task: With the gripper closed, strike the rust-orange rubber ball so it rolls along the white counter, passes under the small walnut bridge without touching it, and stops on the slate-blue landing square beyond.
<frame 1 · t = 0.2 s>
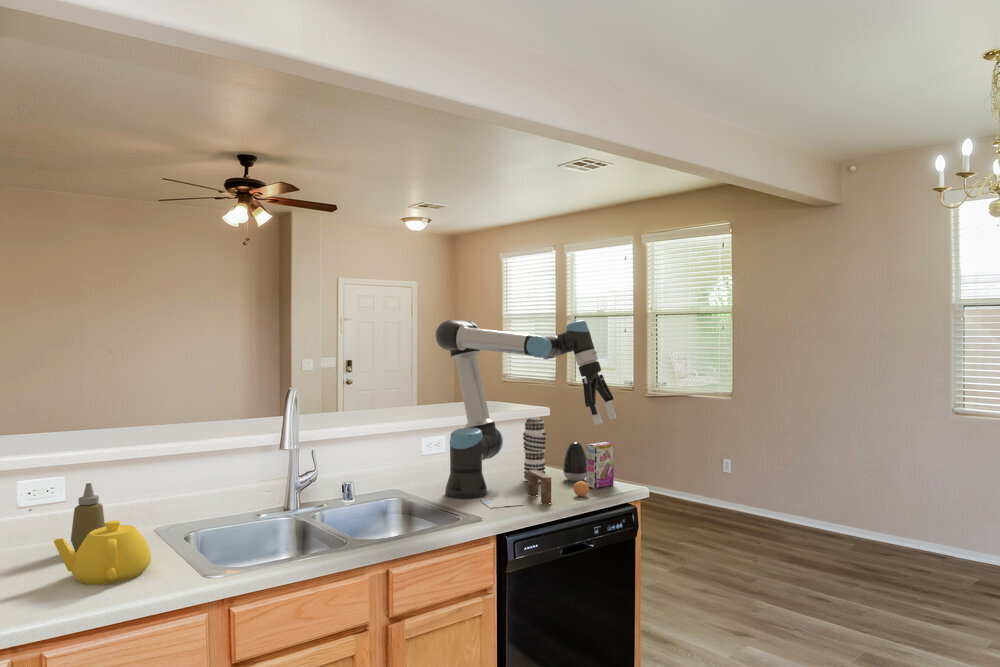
hand: (606, 421, 236), 27 cm above the counter, tool tilted 20°, fingers open, 13 cm apart
candy bar box: (600, 487, 257), on the counter
decorative candle: (534, 481, 268), on the counter
teapot: (103, 578, 159), on the counter
squeeze bottle: (88, 551, 179), on the counter
ball: (581, 488, 240), on the counter
bridge: (539, 499, 235), on the counter
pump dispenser: (575, 480, 269), on the counter
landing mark: (501, 503, 231), on the counter
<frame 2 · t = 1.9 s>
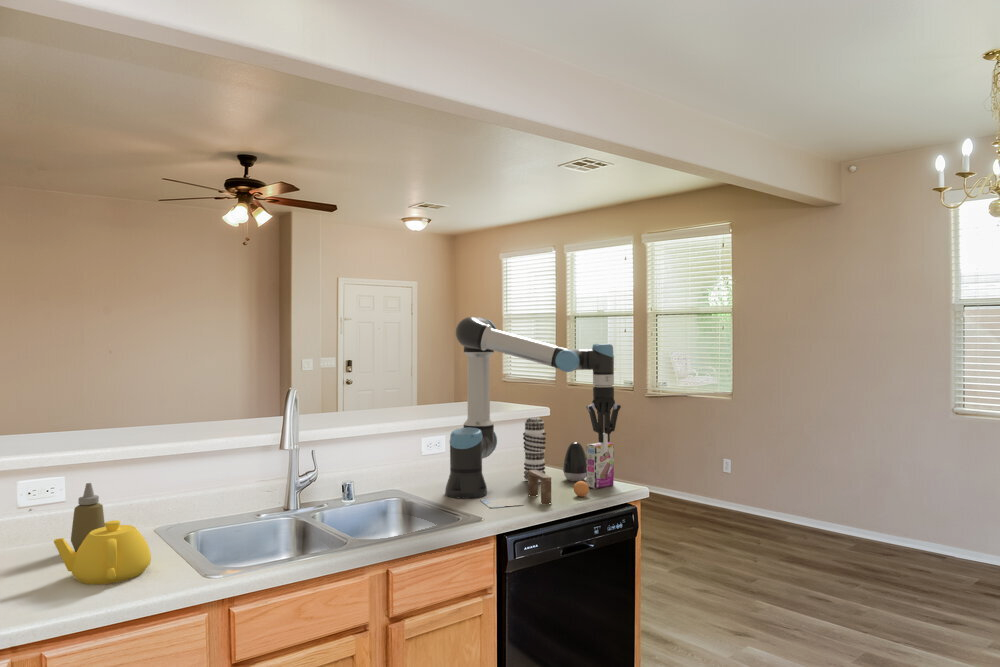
hand: (604, 451, 243), 16 cm above the counter, tool pointing down, fingers closed
nothing on the counter moved.
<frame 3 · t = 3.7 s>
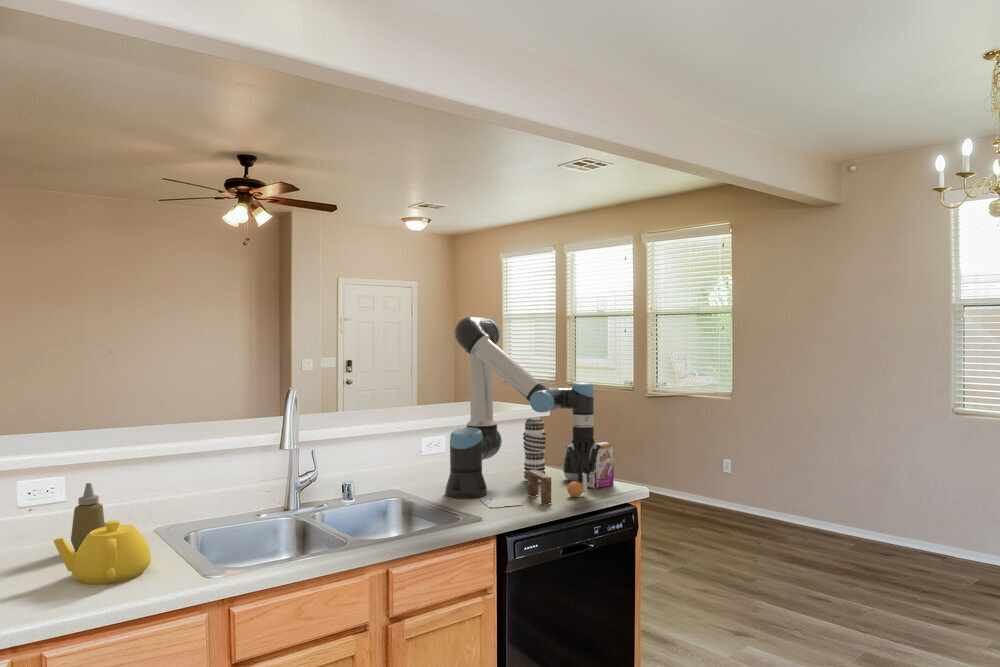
hand: (583, 491, 241), 2 cm above the counter, tool pointing down, fingers closed
ball: (575, 489, 239), on the counter, touching gripper
everything else where it was.
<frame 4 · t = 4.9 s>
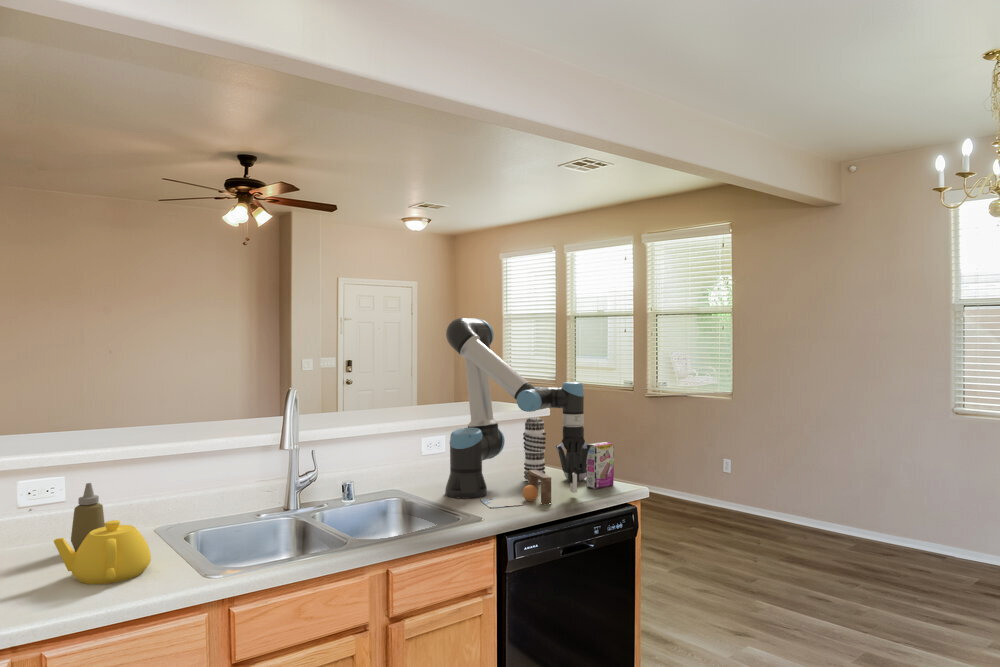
hand: (573, 491, 239), 2 cm above the counter, tool pointing down, fingers closed
ball: (530, 493, 234), on the counter
everything else where it was.
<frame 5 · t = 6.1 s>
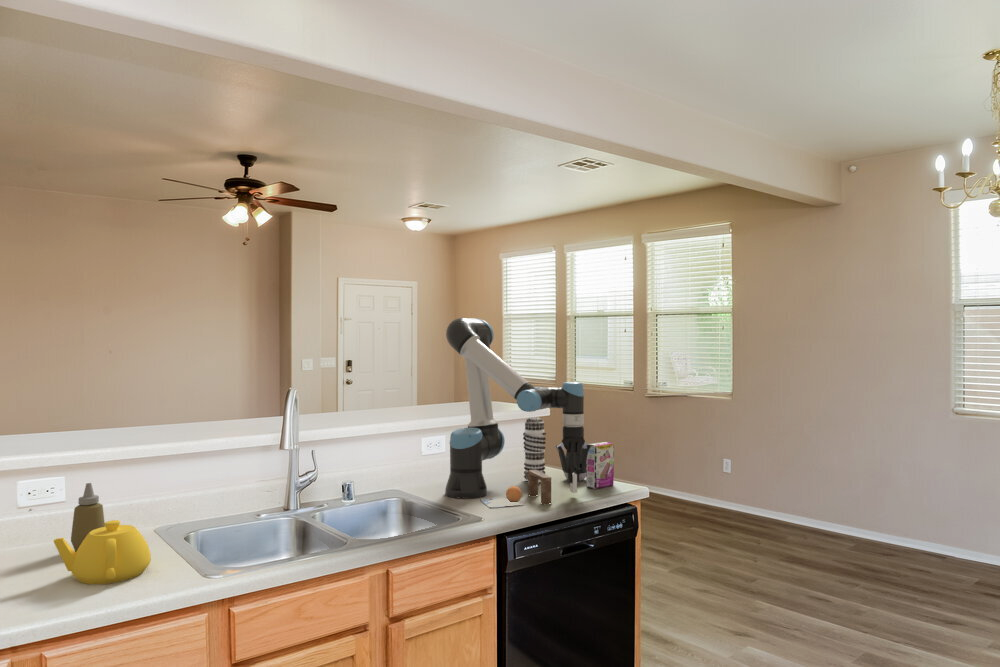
hand: (573, 491, 239), 2 cm above the counter, tool pointing down, fingers closed
ball: (513, 494, 232), on the counter
everything else where it was.
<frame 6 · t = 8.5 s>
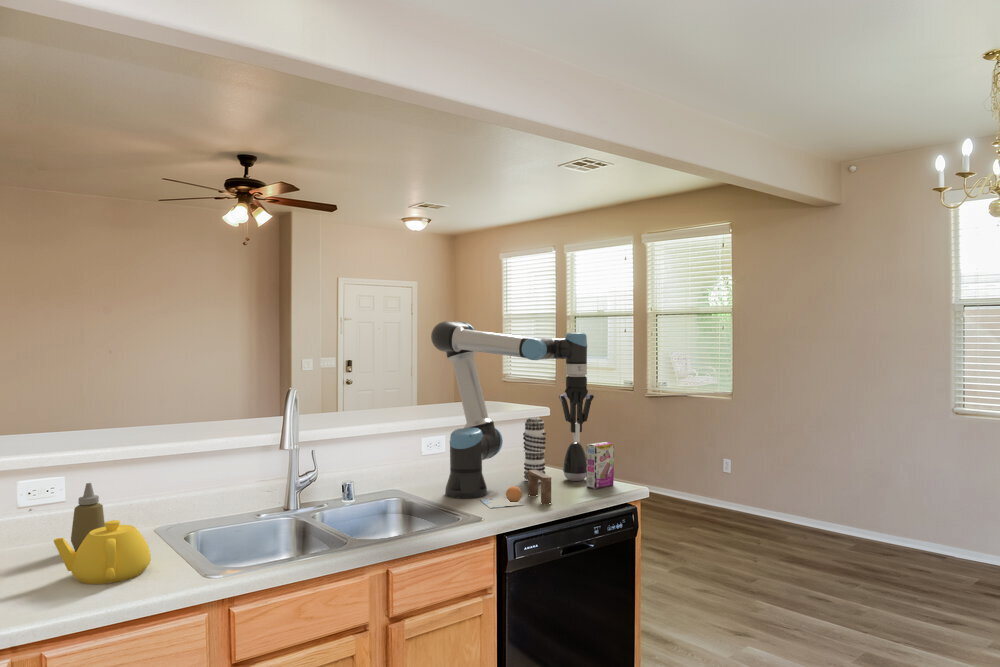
hand: (576, 441, 241), 20 cm above the counter, tool pointing down, fingers closed
nothing on the counter moved.
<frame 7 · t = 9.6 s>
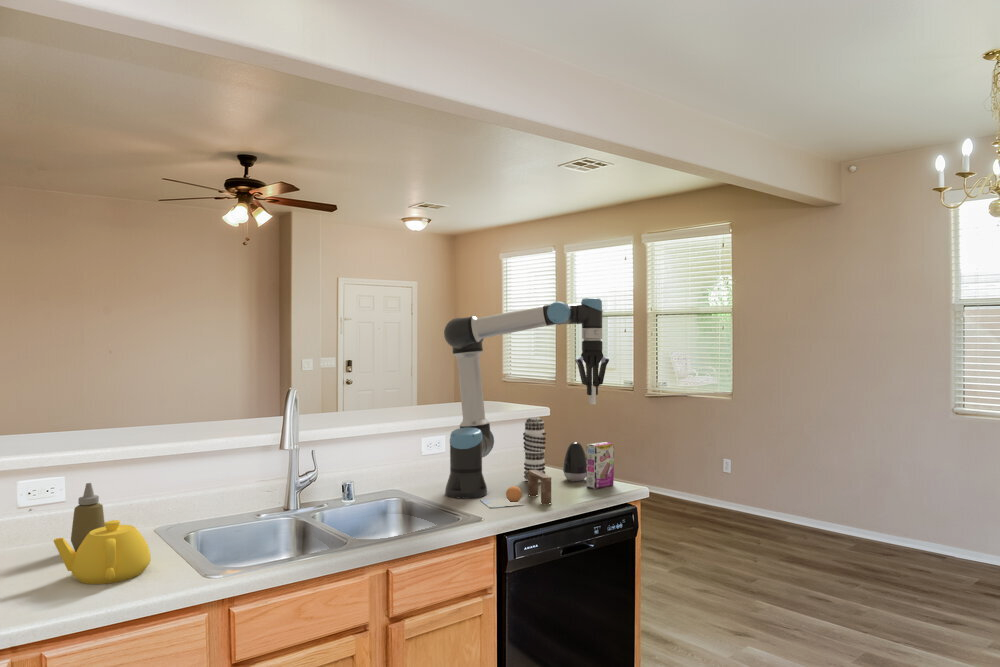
hand: (592, 403, 247), 32 cm above the counter, tool pointing down, fingers closed
nothing on the counter moved.
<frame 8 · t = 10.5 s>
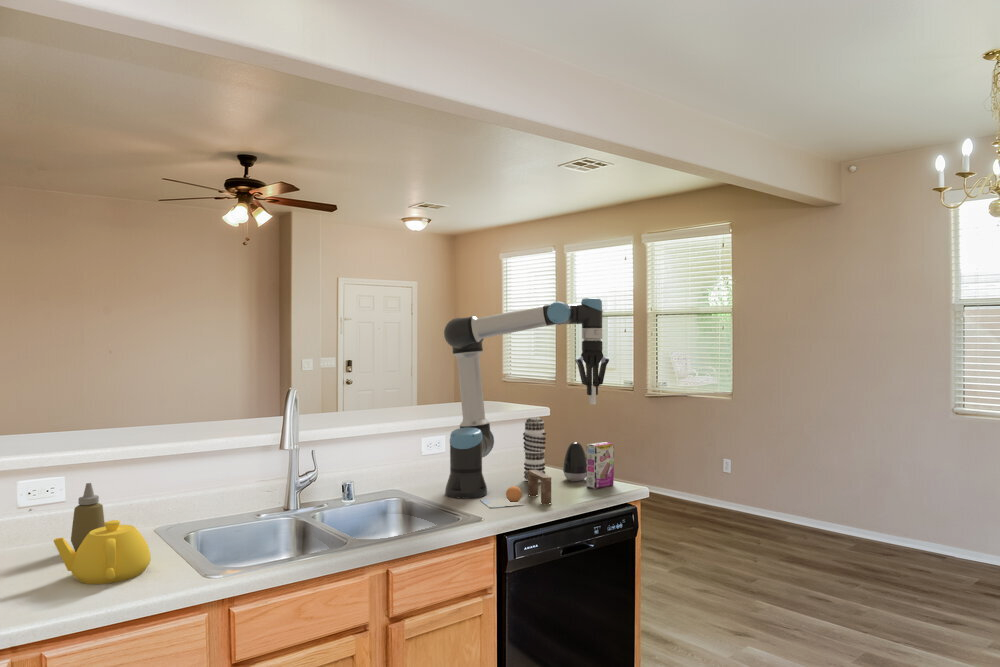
hand: (592, 403, 247), 32 cm above the counter, tool pointing down, fingers closed
nothing on the counter moved.
at the end: ball 4.4 cm from the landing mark (horizontally); ball never touched bridge; ball at rest at the end (0.0 cm/s) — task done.
